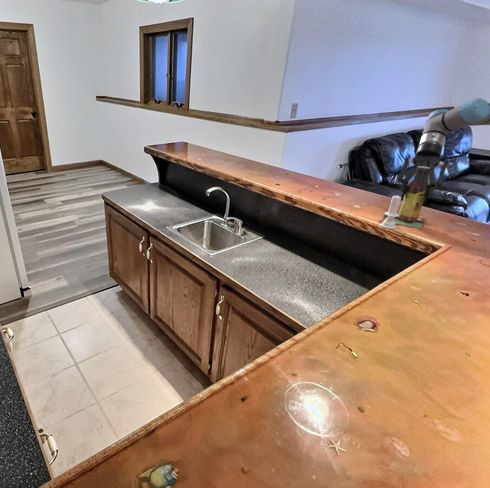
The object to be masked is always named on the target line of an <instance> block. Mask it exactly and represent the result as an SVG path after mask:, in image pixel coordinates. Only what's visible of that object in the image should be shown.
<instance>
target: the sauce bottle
mask: <svg viewBox="0 0 490 488" xmlns="http://www.w3.org/2000/svg"><path fill="white" fill-rule="evenodd" d="M430 169H431V168H430V167H425V166H418V167H417V169H416V173H415V174H414V176H413V179H412V180H411V181H410V182H409V183H408V187H407V190H406V193H405V196H404V199H403V201H401V204H400V205H401V206H400V209H399V211H398V214H399V216H398V217H399V219H401V220H405V221H416V220H418V219H419V216H420V214H421V210H422V207H423V205H424V204H423V202H424V199H425V196H426V193H427V189H428V185H427V184H428V182H427V181H428V177H429V175H428V173H429V172H430Z"/></svg>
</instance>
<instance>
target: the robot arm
mask: <svg viewBox="0 0 490 488" xmlns="http://www.w3.org/2000/svg"><path fill="white" fill-rule="evenodd" d="M473 126H490V102H488V101H487V100H485V99H483V98H482V97H481V98H480V97H479V98H475V99H472V100H468V101H466V102H464V103H463V104H460V105H459V106H456V107H454V108H451V109H446V108H445V109H444V108H441V109H436V110H433V111H432V112H430V114H429V115H428V117H427V119H426V121H425V124H424V128H423V131H422V135H421V138H420V141H419V144H418V147H417V150H416V153H415V155H414V156H413V157H412V158H409V157H404V160H403V165H402V168H401V169H400V173H399V175H398V177H397V183H399V184H401V186H400V188H399V191H400V192H402V194H401V196H400V197H401V201H400V202H403V199H404V196H405V193H406V191H407V187H408V185H409V183H410V182H409V181H410V180H411V179H412V178H413V177H414V176H415V174H416V169H417V167H418V166H425V167H430V168H431V169H430V172H429V173H428V180H429V184H428V185H427V193H426V196H425V199H424V202H423V205H426V204H427V201H428V198H429V197H432V196H433V194H434V192H435V189H441V188H442V186H443V184H444V179H445V174H446V173H445V172H446V169H448V165H449V161H445V162H444V161H441V155H442V151H443V149H444V145H445V142H446V139H447V136H448V134H449V133H452V132H455V131H457V130H459V129H462V128H465V127H473ZM411 163H412V164H413V165H414V166H413V167H412V169H411V170H410V171H409V172H408V173H407V174H406V171H407V170H408V166H410V165H411ZM437 166H439V167H438V168H439V174H438V180H436V176H435V175H436V174H435V168H436V167H437ZM405 174H406V176H405ZM404 176H405V177H404ZM436 181H437V182H436Z"/></svg>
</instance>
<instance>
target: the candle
mask: <svg viewBox="0 0 490 488" xmlns="http://www.w3.org/2000/svg"><path fill="white" fill-rule="evenodd" d="M401 197H402V196H399V194H397V195H392V197H391V200H390V204H389V208H388V210H387V211H385V212H384V215H385V216H386V215H387V216H388V218H387V219H386V220H385V221H384V220H383V221H382V222H381V223H380V224H379V226H381V228H385V229H391V230H394V229H397V228H398V227H397V224H395V222H394V217H398V216H399V213H397V212H398V209H399V206H400V205H401V202H402V201H401Z"/></svg>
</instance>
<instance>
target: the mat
mask: <svg viewBox="0 0 490 488" xmlns="http://www.w3.org/2000/svg"><path fill="white" fill-rule="evenodd" d="M387 218H388V216H387V215H386V214H385V217H384V220H383V221H385V220H386V219H387ZM394 222H395V225H399V226H404V227H409V228H414V229H418V230H422V229H423V223H424V221H423V220H418V219H417V220H416V221H405V220H401V219H399V217H394Z"/></svg>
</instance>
